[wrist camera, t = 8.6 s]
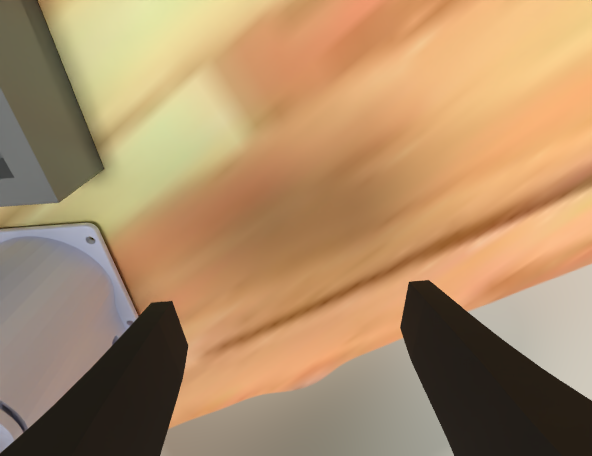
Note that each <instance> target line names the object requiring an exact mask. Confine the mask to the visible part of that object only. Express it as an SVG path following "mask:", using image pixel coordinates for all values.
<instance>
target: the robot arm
mask: <svg viewBox="0 0 592 456" xmlns="http://www.w3.org/2000/svg"><path fill="white" fill-rule="evenodd" d="M90 237H92V238H94V239H95V240H92V239H90ZM400 328H401V331H402V334H403V338H404V341H405V344H406V347H407V350H408V353H409V356H410V359H411V361H412V363H413V366H414V368H415V370H416V372H417V374H418V377H419V379H420V381H421V383H422V385H423V388H424V390H425V392H426V394H427V396H428V398H429V400H430V403H431V404H432V407H433V409H434V411H435V413H436V415H437V418H438V420H439V422H440V424H441V426H442V428H443V431H444V433H445V435H446V437H447V439H448V442H449V444H450V447H451V448H452V451H453V453H454V456H592V401H591V400H590V399H588V398H587V397H585V396H583V395H582V394H580V393H579V392H577V391H576V390H574V389H573V388H571V387H570V386H568V385H566V384H565V383H563V382H562V381H560V380H559V379H557V378H556V377H554V376H553V375H551V374H549V373H548V372H547V371H545V370H544V369H542V368H541V367H539V366H538V365H537V364H535V363H534V362H533V361H531V360H530V359H528V358H527V357H526V356H524V355H523V354H521V353H520V352H519V351H517V350H516V349H514V348H513V347H512V346H510V345H509V344H508V343H506V342H505V341H504V340H502V339H501V338H500V337H499V336H497V335H496V334H494V333H493V332H492V331H491V330H489V329H488V328H487V327H486V326H484V325H483V324H482V323H481V322H479V321H478V320H477V319H476V318H474V317H473V316H472V315H470V314H469V313H468V312H467V311H466V310H464V309H463V308H462V307H461V306H460V305H458V304H457V303H456V302H455V301H454V300H452V299H451V298H450V297H449V296H447V295H446V294H445V293H444V292H443V291H441V290H440V289H439V288H438V287H437V286H435V285H434V284H433V283H432V282H430V281H429V280H425V281H413V282H409V284H408V290H407V295H406V300H405V306H404V311H403V316H402V321H401V327H400ZM187 350H188V344H187V341H186V338H185V335H184V333H183V330H182V327H181V324H180V322H179V319H178V316H177V313H176V311H175V308H174V305H173V302H172V301H168V302H155V303H151V304H150V305H149V306H148V307H147V308H146V309H145V310H144V311H143V313H142V314H141V315H140V316H138V314H137V312H136V310H135V308H134V305H133V303H132V301H131V299H130V297H129V295H128V292H127V290H126V288H125V286H124V284H123V281H122V279H121V277H120V275H119V273H118V270H117V268H116V266H115V264H114V262H113V260H112V257H111V255H110V253H109V251H108V249H107V246H106V244H105V242H104V240H103V238H102V235H101V233H100V231H99V229H98V228H97V226H95V225H94V224H92V223H75V224H62V225H48V226H34V227H21V228H7V229H0V456H160V454H161V450H162V447H163V444H164V440H165V437H166V434H167V430H168V427H169V424H170V420H171V417H172V414H173V410H174V407H175V404H176V400H177V397H178V393H179V390H180V386H181V383H182V379H183V374H184V368H185V363H186V356H187Z"/></svg>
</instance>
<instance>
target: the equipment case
mask: <svg viewBox="0 0 592 456" xmlns="http://www.w3.org/2000/svg"><path fill="white" fill-rule="evenodd" d="M103 169H104V168H103V165H102V163H101V160H100V158H99V155H98V152H97V150H96V147H95V145H94V142H93V140H92V137H91V135H90V132H89V130H88V127H87V125H86V122H85V120H84V117H83V115H82V112H81V110H80V107H79V105H78V102H77V100H76V97H75V95H74V92H73V90H72V87H71V85H70V82H69V80H68V77H67V75H66V72H65V70H64V67H63V64H62V62H61V59H60V57H59V54H58V52H57V49H56V47H55V44H54V42H53V39H52V37H51V34H50V32H49V29H48V27H47V24H46V22H45V19H44V17H43V14H42V12H41V9H40V7H39V4H38V2H37V0H0V207H4V206H18V205H32V204H46V203H59V202H60V201H62V200H63V199H64V198H66V197H67V196H68V195H70V194H71V193H72V192H74V191H75V190H77V189H78V188H79V187H81V186H82V185H83V184H85V183H86V182H87V181H89V180H90V179H91V178H93V177H94V176H95V175H97V174H98V173H99V172H101V171H102V170H103Z"/></svg>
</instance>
